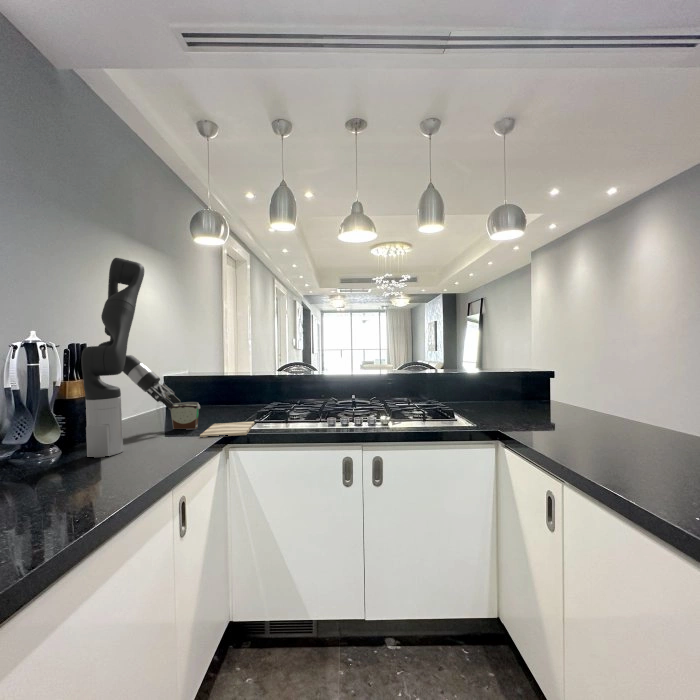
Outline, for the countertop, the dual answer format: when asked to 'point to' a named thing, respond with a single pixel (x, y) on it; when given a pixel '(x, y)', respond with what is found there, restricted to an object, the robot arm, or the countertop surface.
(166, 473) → the countertop surface
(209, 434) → the birch board
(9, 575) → the countertop surface
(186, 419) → the food container
